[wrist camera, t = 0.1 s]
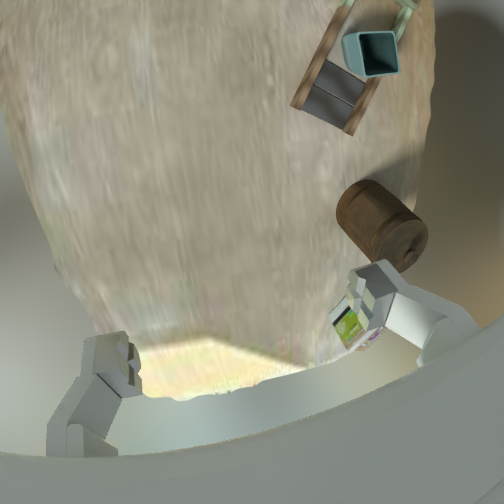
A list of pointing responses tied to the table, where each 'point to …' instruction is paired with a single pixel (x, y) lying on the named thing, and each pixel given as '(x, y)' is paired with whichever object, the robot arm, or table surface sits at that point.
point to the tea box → (353, 328)
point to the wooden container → (381, 225)
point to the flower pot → (371, 53)
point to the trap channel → (341, 77)
